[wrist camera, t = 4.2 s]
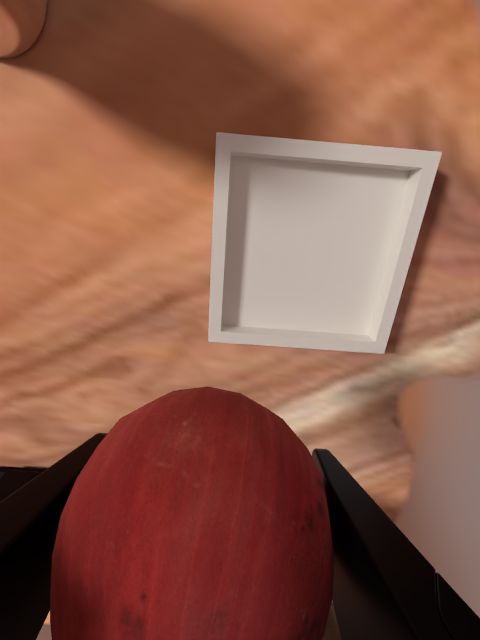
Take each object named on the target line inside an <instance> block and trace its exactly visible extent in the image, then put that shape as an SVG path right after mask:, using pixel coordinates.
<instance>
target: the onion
mask: <svg viewBox="0 0 480 640" xmlns="http://www.w3.org/2000/svg"><path fill="white" fill-rule="evenodd" d="M333 576H334V551H333V543H332V535H331V527H330V519H329V512H328V506H327V500H326V495H325V489H324V484H323V478H322V475H321V473H320V471H319V469H318V467H317V465H316V464H315V462H314V460H313V458H312V456H311V454H310V452H309V450H308V449H307V447H306V446H305V445H304V444H303V443H302V441H301V440H300V439H299V438H298V437H297V436H296V434H295V433H294V432H293V431H292V430H291V428H290V427H289V426H288V425H287V424H286V422H285V421H284V420H283V419H282V418H280V417H279V416H277V415H276V414H274V413H273V412H271V411H270V410H268V409H267V408H265V407H263V406H262V405H260V404H258V403H256V402H255V401H253V400H251V399H249V398H248V397H246V396H244V395H242V394H241V393H236V392H231V391H226V390H222V389H217V388H212V387H201V388H193V389H185V390H178V391H173V392H170V393H168V394H166V395H164V396H162V397H160V398H158V399H156V400H154V401H152V402H150V403H148V404H146V405H145V406H143V407H141V408H139V409H137V410H135V411H133V412H132V413H130V414H128V415H126V416H124V417H122V418H120V419H119V421H118V422H117V423H116V424H115V425H114V427H113V428H112V429H111V430H110V432H109V433H108V434H107V435H106V436H105V438H104V439H103V440H102V441H101V443H100V444H99V445H98V446H97V448H96V449H95V451H94V453H93V454H92V456H91V457H90V459H89V460H88V462H87V463H86V465H85V466H84V468H83V469H82V471H81V472H80V474H79V476H78V477H77V479H76V481H75V483H74V486H73V488H72V490H71V493H70V495H69V497H68V500H67V502H66V505H65V507H64V509H63V512H62V514H61V516H60V521H59V525H58V530H57V535H56V540H55V545H54V550H53V555H52V569H51V590H50V623H51V633H52V640H322V638H323V636H324V633H325V628H326V624H327V619H328V615H329V610H330V606H331V601H332V597H333Z"/></svg>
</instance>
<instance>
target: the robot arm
mask: <svg viewBox="0 0 480 640" xmlns="http://www.w3.org/2000/svg"><path fill="white" fill-rule="evenodd" d="M107 434H108V433H98V434H96V435H94V436H93V437H92V438H90V439H89V440H87V441H86V442H85V443H83V444H82V445H80V446H79V447H78V448H76V449H75V450H73V451H72V452H70V453H69V454H68V455H66V456H65V457H63V458H62V459H61V460H59V461H58V462H56V463H55V464H54V465H52V466H51V467H49V468H48V469H46V470H33V469H15V468H0V640H36V638H37V636H38V634H39V632H40V630H41V628H42V626H43V624H44V621H45V619H46V617H47V615H48V613H49V611H50V590H51V569H52V555H53V550H54V545H55V540H56V535H57V530H58V525H59V521H60V516H61V514H62V512H63V509H64V507H65V505H66V502H67V500H68V497H69V495H70V493H71V490H72V488H73V486H74V483H75V481H76V479H77V477H78V476H79V474H80V472H81V471H82V469H83V468H84V466H85V465H86V463H87V462H88V460H89V459H90V457H91V456H92V454H93V453H94V451H95V449H96V448H97V446H98V445H99V444H100V443H101V441H102V440H103V439H104V438H105V436H106V435H107ZM312 458H313V460H314V462H315V464H316V465H317V467H318V469H319V471H320V473H321V475H322V478H323V484H324V489H325V495H326V500H327V506H328V512H329V519H330V527H331V535H332V543H333V551H334V576H333V597H332V602H333V606H334V611H335V615H336V619H337V623H338V628H339V632H340V636H341V640H480V618H479V617H478V616H477V615H476V614H475V613H474V612H473V611H472V609H471V608H470V607H469V606H468V605H467V604H466V603H465V602H464V601H463V600H462V599H461V598H460V597H459V595H458V594H457V593H456V592H455V591H454V590H453V589H452V588H451V587H450V585H449V584H448V583H447V582H446V581H445V580H444V579H443V578H442V576H441V575H440V574H439V573H436V572H435V569H434V568H433V566H432V565H431V564H430V563H429V562H428V561H427V560H426V559H425V558H424V556H423V555H422V554H421V553H420V552H419V551H418V550H417V549H416V548H415V546H414V545H413V544H412V543H411V542H410V541H409V540H408V538H407V537H406V536H405V535H404V534H403V533H402V532H401V531H400V530H399V528H398V527H397V526H396V525H395V524H394V523H393V522H392V521H391V519H390V518H389V517H388V516H387V515H386V514H385V513H384V512H383V510H382V509H381V508H380V507H379V506H378V505H377V504H376V503H375V502H374V500H373V499H372V498H371V497H370V496H369V495H368V494H367V493H366V491H365V490H364V489H363V488H362V487H361V486H360V485H359V484H358V483H357V481H356V480H355V479H354V478H353V477H352V476H351V475H350V474H349V472H348V471H347V470H346V469H345V468H344V467H343V466H342V465H341V463H340V462H339V461H338V460H337V459H336V458H335V457H334V456H333V455H332V453H331V452H330V451H329V450H327V449H314V450H313V452H312Z"/></svg>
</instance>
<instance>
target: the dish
mask: <svg viewBox="0 0 480 640" xmlns="http://www.w3.org/2000/svg"><path fill="white" fill-rule="evenodd" d="M441 154H442V152H435V151H424V150H413V149H402V148H390V147H379V146H368V145H356V144H345V143H334V142H322V141H311V140H300V139H288V138H277V137H266V136H254V135H243V134H232V133H220V132H216V153H215V179H214V204H213V230H212V255H211V281H210V307H209V332H208V342H221V343H236V344H250V345H265V346H279V347H293V348H308V349H322V350H337V351H351V352H366V353H380V354H384V352H385V349H386V346H387V342H388V339H389V335H390V332H391V328H392V325H393V321H394V318H395V314H396V311H397V307H398V304H399V300H400V297H401V293H402V290H403V286H404V283H405V279H406V276H407V272H408V269H409V266H410V262H411V259H412V255H413V252H414V248H415V245H416V241H417V238H418V234H419V231H420V227H421V224H422V220H423V217H424V213H425V210H426V206H427V203H428V199H429V196H430V192H431V189H432V186H433V182H434V179H435V175H436V172H437V168H438V165H439V161H440V158H441Z"/></svg>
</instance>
